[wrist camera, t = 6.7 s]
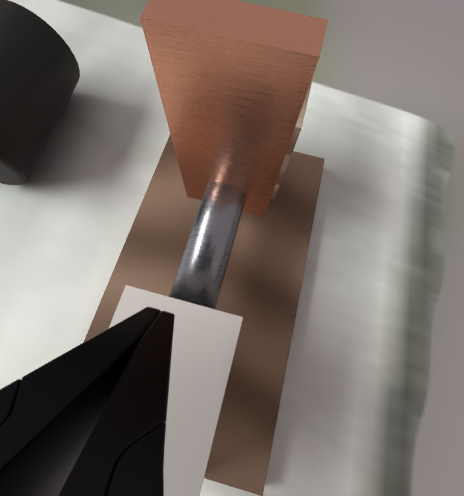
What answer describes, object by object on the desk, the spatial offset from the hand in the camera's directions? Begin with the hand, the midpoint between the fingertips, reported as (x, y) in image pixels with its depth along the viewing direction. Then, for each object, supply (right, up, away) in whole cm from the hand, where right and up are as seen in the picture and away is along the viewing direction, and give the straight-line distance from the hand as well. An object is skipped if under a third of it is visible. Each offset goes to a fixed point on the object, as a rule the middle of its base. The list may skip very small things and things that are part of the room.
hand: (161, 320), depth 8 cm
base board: (+1, 0, +10) cm, 10 cm away
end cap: (-14, +11, +14) cm, 23 cm away
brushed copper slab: (+2, +4, +8) cm, 9 cm away
